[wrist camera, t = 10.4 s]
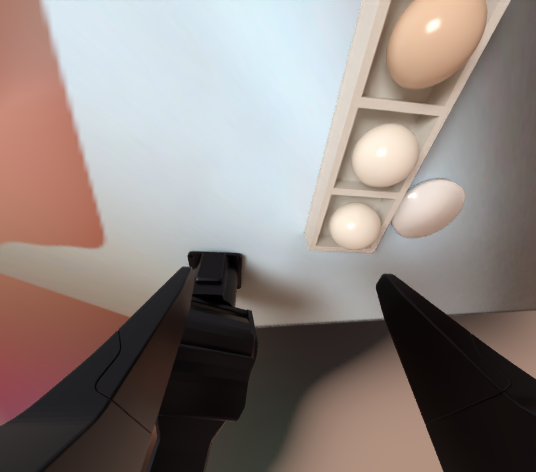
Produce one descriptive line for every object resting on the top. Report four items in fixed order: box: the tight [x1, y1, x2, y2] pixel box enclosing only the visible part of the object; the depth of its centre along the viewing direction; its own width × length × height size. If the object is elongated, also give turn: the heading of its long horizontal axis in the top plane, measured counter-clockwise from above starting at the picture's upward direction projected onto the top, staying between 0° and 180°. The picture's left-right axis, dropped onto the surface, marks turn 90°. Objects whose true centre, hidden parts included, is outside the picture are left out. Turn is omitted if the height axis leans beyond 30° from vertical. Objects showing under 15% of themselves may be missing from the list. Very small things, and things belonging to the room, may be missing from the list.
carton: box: [304, 0, 510, 253], centre depth 18 cm, size 20×7×3 cm, turn 175°
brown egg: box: [386, 0, 488, 89], centre depth 12 cm, size 5×5×5 cm
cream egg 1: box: [329, 202, 381, 250], centre depth 21 cm, size 5×5×5 cm
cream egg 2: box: [351, 123, 420, 187], centre depth 16 cm, size 5×5×5 cm
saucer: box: [391, 178, 465, 238], centre depth 23 cm, size 7×7×1 cm
